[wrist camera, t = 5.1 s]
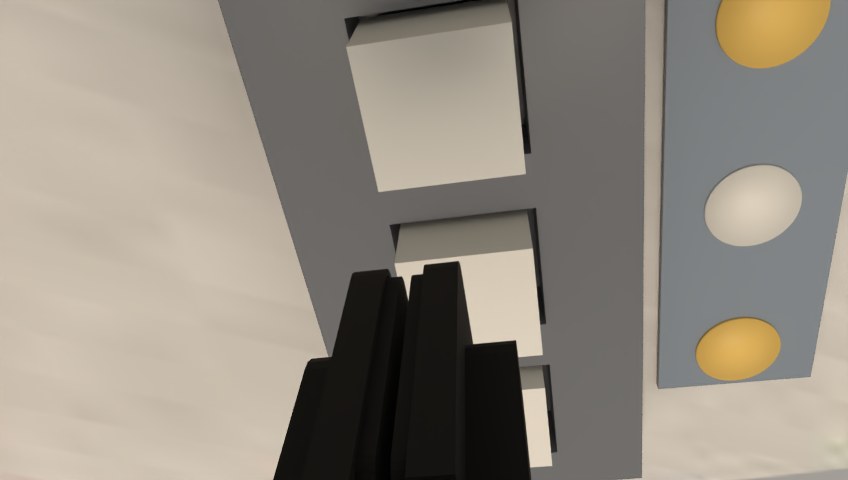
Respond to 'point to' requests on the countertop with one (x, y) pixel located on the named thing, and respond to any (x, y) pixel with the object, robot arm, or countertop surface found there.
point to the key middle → (482, 271)
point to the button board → (482, 191)
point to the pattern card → (749, 185)
